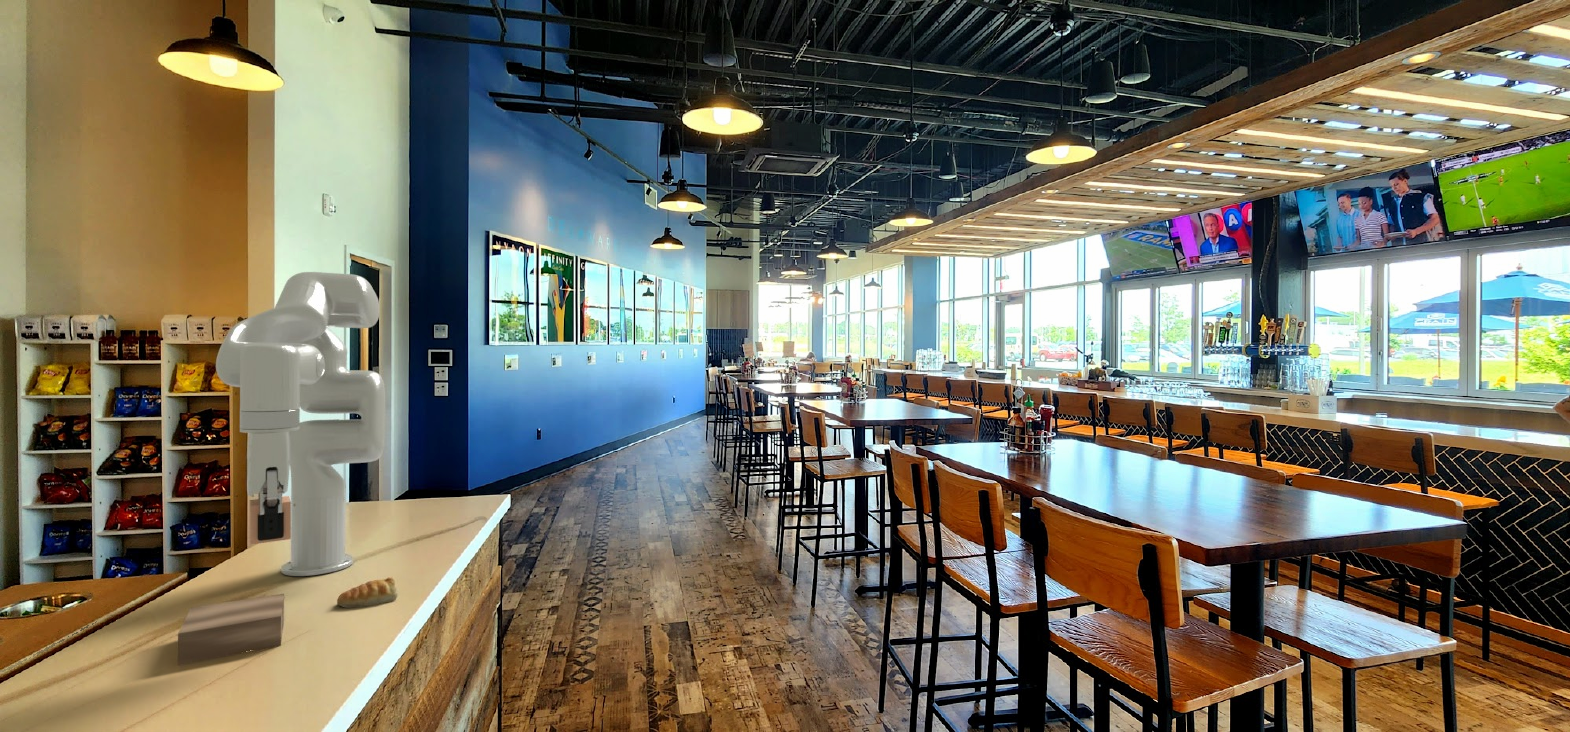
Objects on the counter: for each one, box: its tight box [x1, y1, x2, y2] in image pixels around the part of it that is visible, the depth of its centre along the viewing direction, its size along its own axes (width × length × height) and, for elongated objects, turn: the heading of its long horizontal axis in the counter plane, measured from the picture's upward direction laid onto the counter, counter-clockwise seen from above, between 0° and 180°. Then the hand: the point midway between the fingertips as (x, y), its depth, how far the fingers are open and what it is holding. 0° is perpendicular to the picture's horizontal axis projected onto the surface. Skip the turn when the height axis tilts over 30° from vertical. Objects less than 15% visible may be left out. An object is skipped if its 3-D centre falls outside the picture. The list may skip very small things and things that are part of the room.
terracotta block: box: [248, 495, 291, 546], centre depth 105 cm, size 5×5×6 cm
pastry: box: [336, 576, 398, 608], centre depth 123 cm, size 9×7×4 cm
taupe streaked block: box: [177, 592, 285, 666], centre depth 105 cm, size 12×12×5 cm
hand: (269, 533), depth 105 cm, fingers closed on terracotta block, 4 cm apart
